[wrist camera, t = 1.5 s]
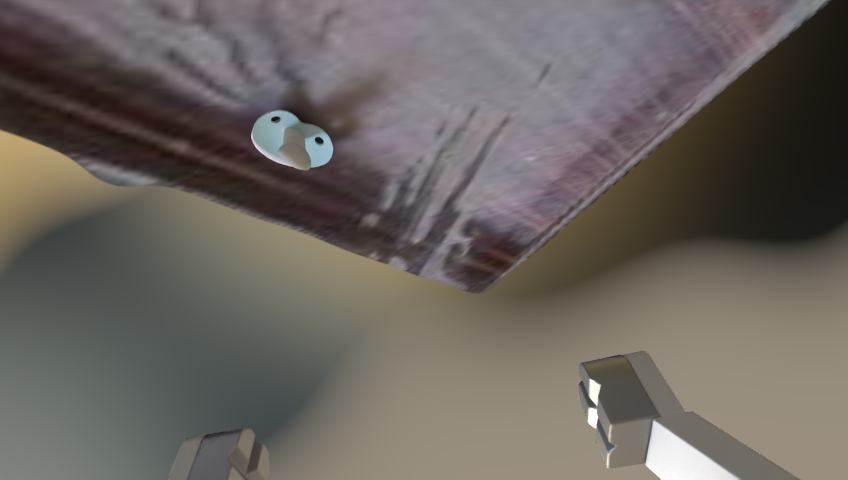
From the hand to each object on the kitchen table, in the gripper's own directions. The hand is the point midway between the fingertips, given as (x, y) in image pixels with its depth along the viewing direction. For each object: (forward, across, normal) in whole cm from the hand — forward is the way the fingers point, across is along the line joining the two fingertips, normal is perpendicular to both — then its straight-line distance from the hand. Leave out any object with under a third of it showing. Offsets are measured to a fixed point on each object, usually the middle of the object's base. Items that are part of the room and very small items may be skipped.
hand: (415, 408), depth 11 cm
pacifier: (+35, +11, +5) cm, 37 cm away
